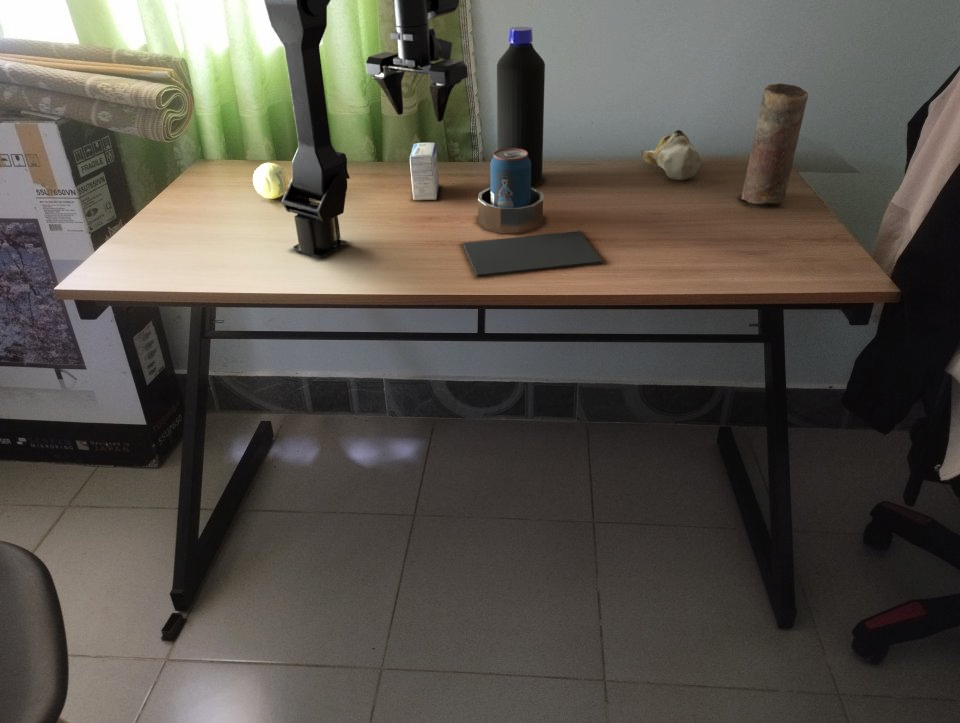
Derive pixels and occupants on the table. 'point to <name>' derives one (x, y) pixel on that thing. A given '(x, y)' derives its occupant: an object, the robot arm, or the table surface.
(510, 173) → the soda can
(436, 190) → the medicine box
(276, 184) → the tennis ball
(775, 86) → the brown tall cylinder
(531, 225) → the steel holder
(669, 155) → the ceramic sculpture
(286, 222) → the table surface
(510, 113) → the bottle
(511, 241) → the rubber mat
